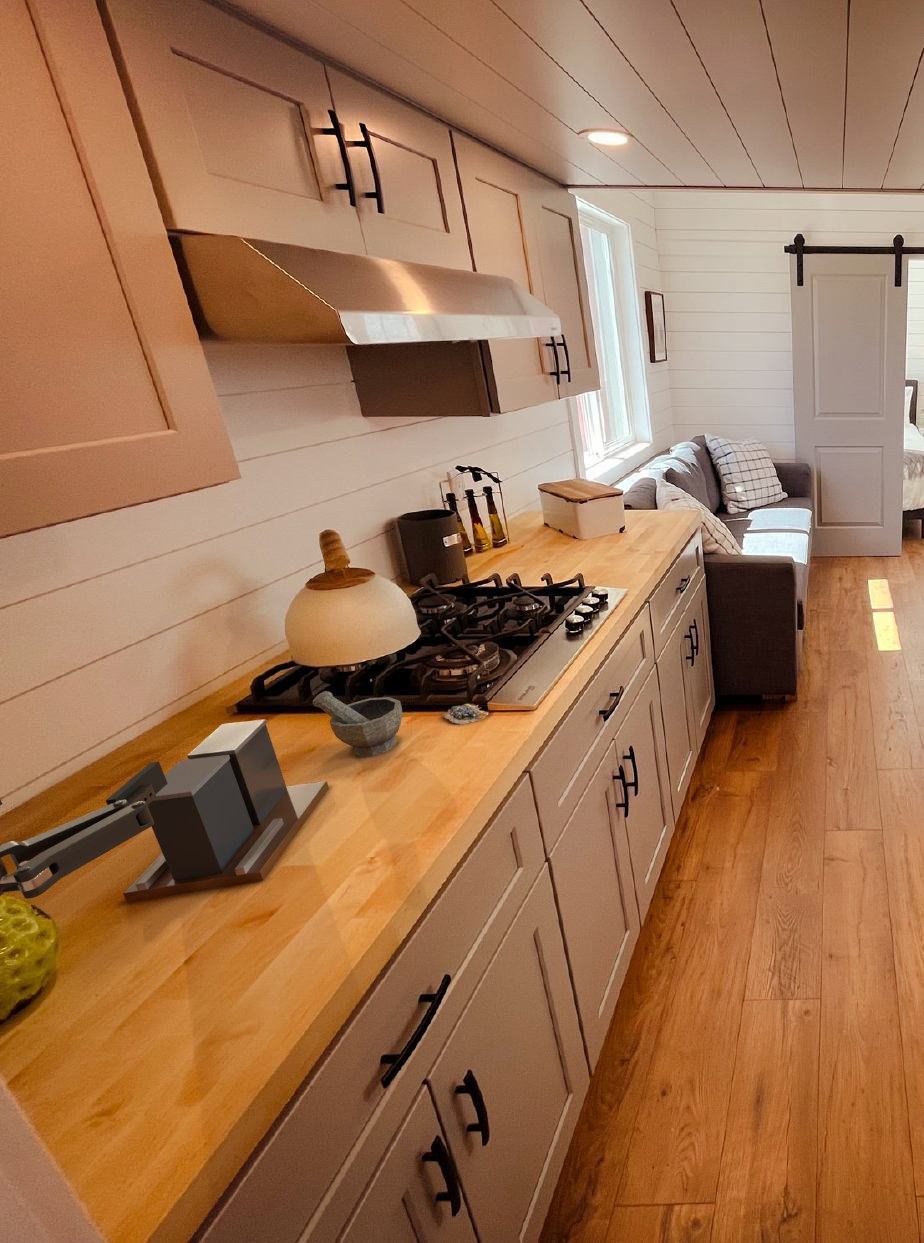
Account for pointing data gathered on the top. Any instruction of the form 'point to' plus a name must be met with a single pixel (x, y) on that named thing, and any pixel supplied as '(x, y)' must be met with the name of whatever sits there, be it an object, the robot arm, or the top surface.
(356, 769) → the top surface
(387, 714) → the mortar and pestle
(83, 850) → the robot arm
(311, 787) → the pad base
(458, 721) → the blueberries
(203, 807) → the loose pad
